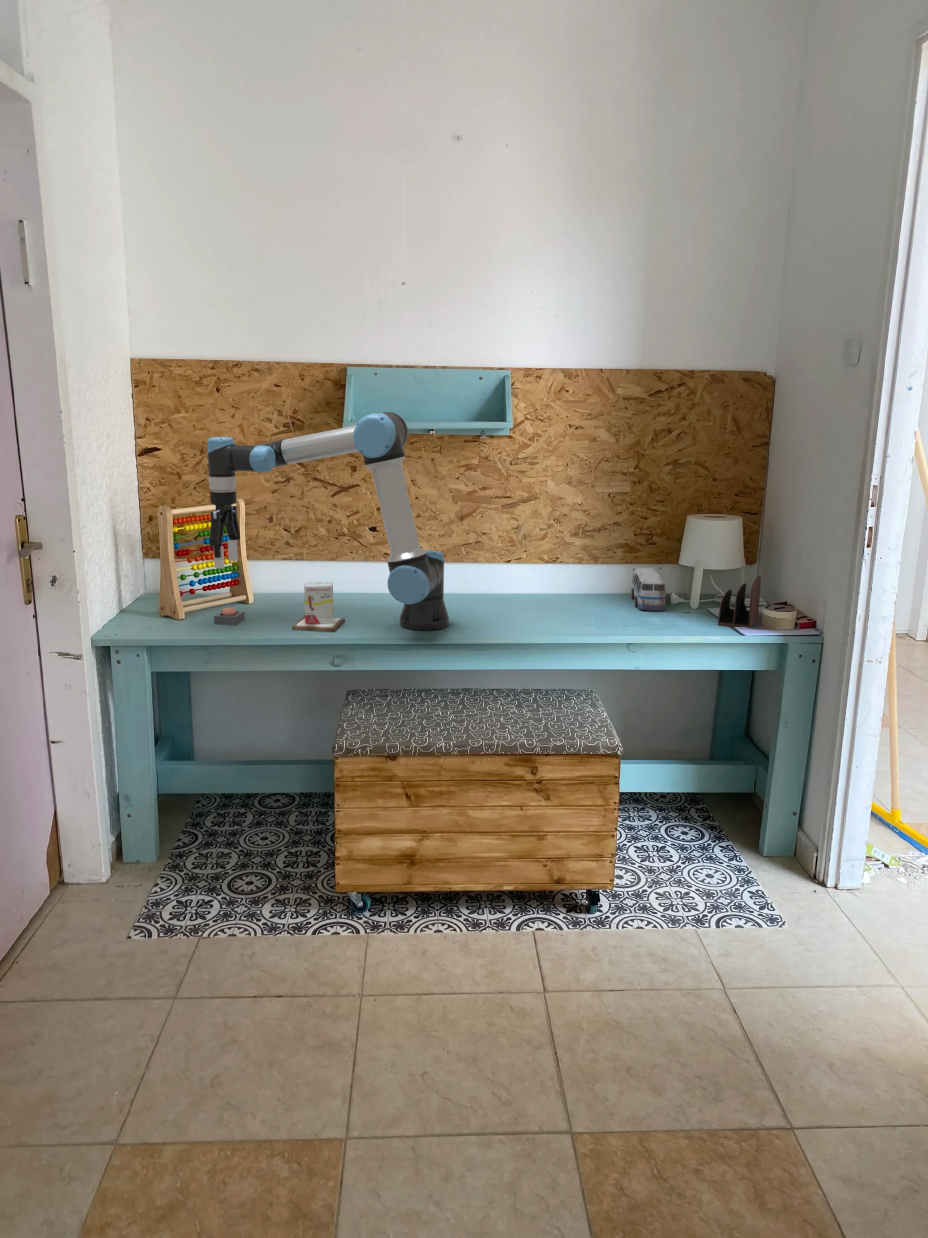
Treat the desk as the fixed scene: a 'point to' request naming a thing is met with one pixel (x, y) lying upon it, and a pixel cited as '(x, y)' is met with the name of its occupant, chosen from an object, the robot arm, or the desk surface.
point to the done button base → (229, 618)
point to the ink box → (318, 602)
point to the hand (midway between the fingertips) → (226, 564)
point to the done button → (229, 611)
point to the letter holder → (740, 607)
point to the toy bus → (648, 589)
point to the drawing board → (318, 625)
